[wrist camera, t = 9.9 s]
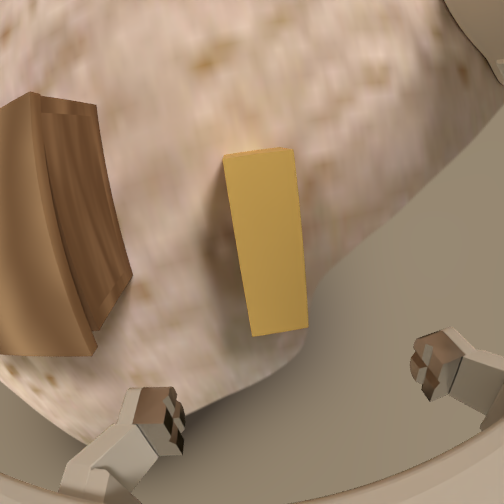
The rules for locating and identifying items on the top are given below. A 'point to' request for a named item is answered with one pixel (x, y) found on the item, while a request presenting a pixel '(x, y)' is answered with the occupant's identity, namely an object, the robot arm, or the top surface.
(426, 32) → the top surface
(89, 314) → the wooden box
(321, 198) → the top surface
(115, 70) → the top surface
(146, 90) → the top surface
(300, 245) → the yellow block
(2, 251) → the box lid
